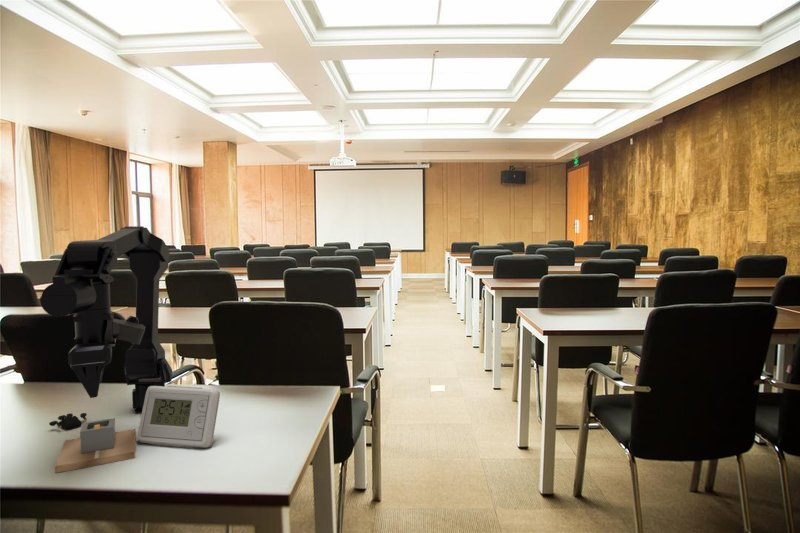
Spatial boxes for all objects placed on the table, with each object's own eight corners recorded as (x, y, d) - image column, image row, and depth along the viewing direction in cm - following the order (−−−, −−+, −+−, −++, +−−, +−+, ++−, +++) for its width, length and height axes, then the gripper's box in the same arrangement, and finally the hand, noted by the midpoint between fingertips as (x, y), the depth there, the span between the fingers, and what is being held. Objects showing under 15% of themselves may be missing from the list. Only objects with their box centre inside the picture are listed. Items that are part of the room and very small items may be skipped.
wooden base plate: (135, 434, 98) (134, 411, 98) (134, 457, 88) (133, 433, 87) (65, 446, 92) (64, 422, 92) (55, 473, 82) (54, 446, 82)
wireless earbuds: (56, 429, 98) (45, 417, 100) (54, 439, 98) (44, 427, 101) (92, 419, 104) (82, 407, 106) (91, 428, 104) (81, 416, 107)
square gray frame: (84, 443, 91) (83, 419, 91) (115, 437, 94) (114, 414, 93) (80, 453, 86) (80, 428, 86) (114, 447, 89) (113, 423, 89)
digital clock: (131, 444, 94) (129, 391, 93) (168, 427, 102) (167, 378, 101) (195, 457, 88) (194, 401, 87) (229, 438, 96) (228, 387, 96)
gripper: (141, 311, 84) (144, 397, 85) (141, 299, 101) (144, 372, 102) (65, 316, 79) (69, 408, 80) (78, 303, 95) (81, 379, 96)
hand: (96, 390), depth 90 cm, fingers open, 9 cm apart
